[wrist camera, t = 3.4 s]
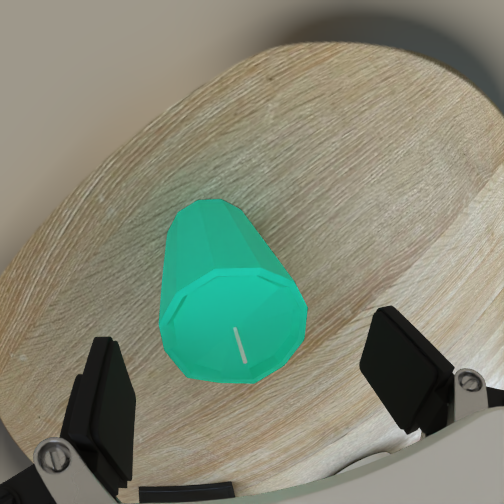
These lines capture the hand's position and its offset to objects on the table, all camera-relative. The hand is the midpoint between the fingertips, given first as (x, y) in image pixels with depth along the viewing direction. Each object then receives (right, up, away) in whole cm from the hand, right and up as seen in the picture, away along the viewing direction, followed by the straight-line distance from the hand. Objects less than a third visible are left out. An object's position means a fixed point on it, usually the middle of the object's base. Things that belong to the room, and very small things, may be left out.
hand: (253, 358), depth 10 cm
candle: (-3, +5, +11) cm, 12 cm away
